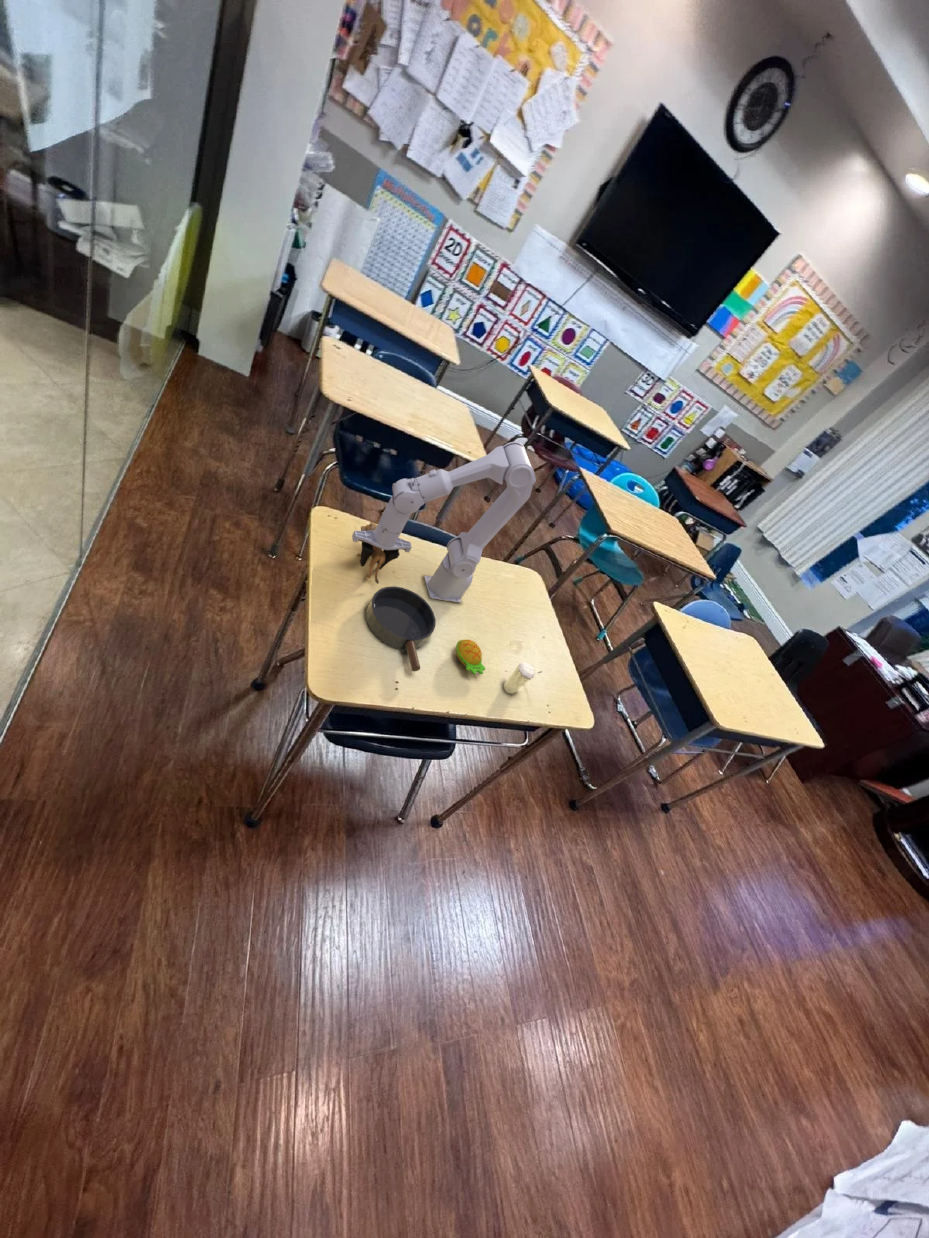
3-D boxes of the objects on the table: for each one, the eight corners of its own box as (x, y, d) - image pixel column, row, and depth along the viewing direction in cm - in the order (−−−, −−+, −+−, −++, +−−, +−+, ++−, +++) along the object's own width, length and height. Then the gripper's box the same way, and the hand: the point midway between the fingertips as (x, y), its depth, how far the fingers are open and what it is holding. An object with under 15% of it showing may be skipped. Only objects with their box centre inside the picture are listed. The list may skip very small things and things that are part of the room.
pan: (420, 601, 132) (427, 591, 130) (435, 652, 123) (442, 642, 120) (361, 593, 124) (366, 581, 121) (371, 647, 114) (377, 636, 112)
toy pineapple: (469, 646, 130) (479, 633, 127) (484, 679, 125) (495, 667, 122) (446, 646, 126) (456, 633, 123) (461, 681, 121) (472, 668, 118)
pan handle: (400, 649, 118) (407, 639, 116) (408, 650, 119) (415, 639, 117) (406, 676, 114) (413, 665, 111) (414, 676, 115) (421, 666, 113)
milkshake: (518, 700, 126) (541, 678, 120) (499, 691, 125) (522, 668, 119) (520, 687, 130) (542, 664, 123) (502, 677, 129) (523, 654, 122)
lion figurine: (346, 543, 131) (363, 516, 127) (363, 547, 135) (380, 521, 131) (368, 584, 124) (387, 557, 120) (385, 586, 128) (404, 560, 124)
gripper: (415, 520, 127) (394, 558, 135) (359, 507, 119) (340, 549, 128) (421, 540, 123) (399, 578, 131) (363, 528, 115) (344, 569, 124)
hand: (370, 565), depth 129 cm, fingers closed on lion figurine, 4 cm apart
